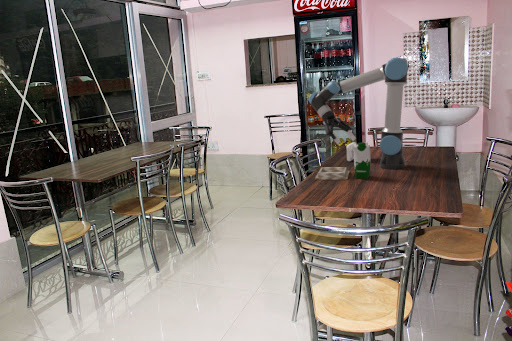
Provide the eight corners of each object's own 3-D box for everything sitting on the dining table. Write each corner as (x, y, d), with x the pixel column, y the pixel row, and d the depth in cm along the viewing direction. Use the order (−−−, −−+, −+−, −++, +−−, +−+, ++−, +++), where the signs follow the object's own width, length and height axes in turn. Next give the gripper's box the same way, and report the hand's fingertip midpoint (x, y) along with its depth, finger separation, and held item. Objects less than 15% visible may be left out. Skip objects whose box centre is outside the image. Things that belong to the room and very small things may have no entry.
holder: (349, 172, 258) (349, 166, 257) (347, 179, 241) (347, 173, 240) (319, 172, 263) (319, 166, 262) (315, 179, 246) (314, 173, 245)
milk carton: (353, 179, 242) (353, 143, 237) (355, 175, 250) (355, 141, 246) (369, 179, 239) (369, 143, 235) (371, 175, 247) (370, 141, 243)
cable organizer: (361, 163, 282) (361, 145, 279) (346, 162, 287) (345, 145, 285) (368, 158, 294) (368, 141, 292) (353, 157, 300) (353, 141, 297)
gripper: (336, 116, 267) (356, 142, 259) (308, 121, 252) (329, 148, 243) (343, 108, 262) (364, 134, 253) (315, 112, 246) (336, 140, 238)
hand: (347, 141), depth 248 cm, fingers open, 13 cm apart
